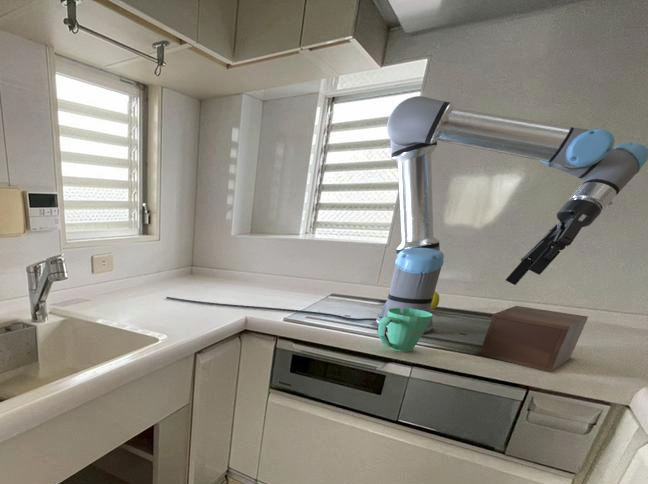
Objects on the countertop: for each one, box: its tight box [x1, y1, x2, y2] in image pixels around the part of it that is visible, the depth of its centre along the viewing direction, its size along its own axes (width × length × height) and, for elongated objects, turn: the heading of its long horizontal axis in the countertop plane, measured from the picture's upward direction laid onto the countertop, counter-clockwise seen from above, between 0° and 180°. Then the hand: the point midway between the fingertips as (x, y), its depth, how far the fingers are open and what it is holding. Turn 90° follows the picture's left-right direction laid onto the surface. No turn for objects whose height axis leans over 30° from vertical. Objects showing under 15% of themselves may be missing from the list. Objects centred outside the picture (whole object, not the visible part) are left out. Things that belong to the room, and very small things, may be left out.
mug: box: [376, 308, 434, 353], centre depth 104 cm, size 15×10×10 cm
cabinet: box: [478, 305, 589, 372], centre depth 99 cm, size 16×14×11 cm
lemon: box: [431, 290, 440, 311], centre depth 144 cm, size 6×6×8 cm
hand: (521, 277), depth 109 cm, fingers open, 13 cm apart
